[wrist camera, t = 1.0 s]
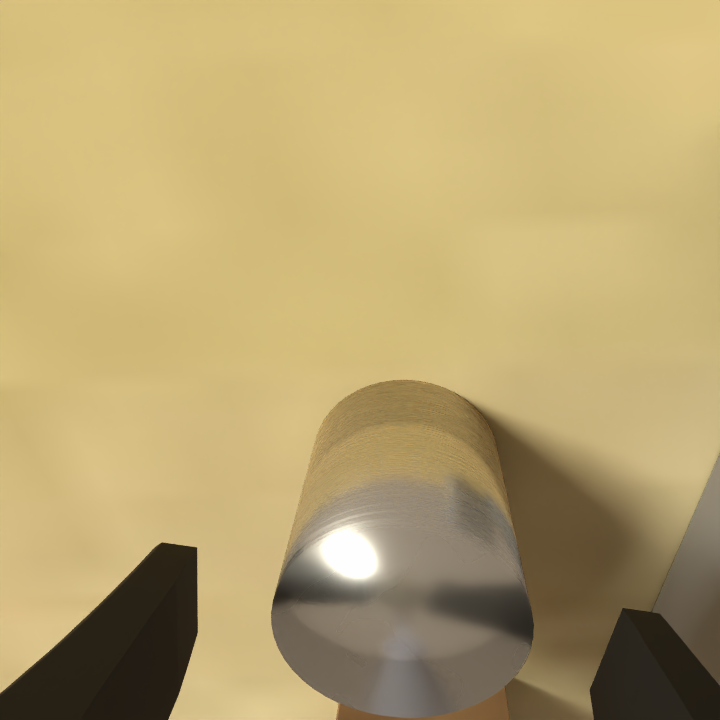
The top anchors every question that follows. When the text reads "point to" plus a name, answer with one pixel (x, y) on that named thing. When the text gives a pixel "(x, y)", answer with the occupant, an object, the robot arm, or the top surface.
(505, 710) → the block
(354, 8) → the top surface
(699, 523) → the housing
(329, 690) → the silver metal cylinder
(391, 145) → the top surface
